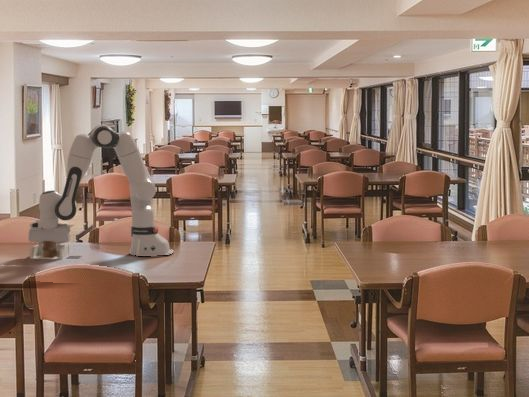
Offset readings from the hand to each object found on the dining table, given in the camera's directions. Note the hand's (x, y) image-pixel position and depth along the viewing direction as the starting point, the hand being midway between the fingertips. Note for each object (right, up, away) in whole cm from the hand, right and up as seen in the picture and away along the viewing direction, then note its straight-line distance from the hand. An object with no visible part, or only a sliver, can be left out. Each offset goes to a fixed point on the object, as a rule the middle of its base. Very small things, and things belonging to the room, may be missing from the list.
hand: (50, 250), depth 365 cm
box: (0, -3, 0) cm, 3 cm away
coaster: (+12, -4, -2) cm, 13 cm away
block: (0, -3, 0) cm, 3 cm away
